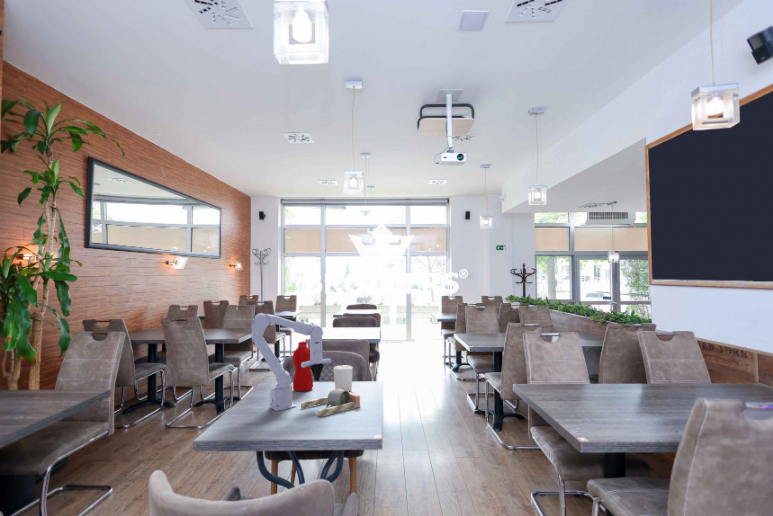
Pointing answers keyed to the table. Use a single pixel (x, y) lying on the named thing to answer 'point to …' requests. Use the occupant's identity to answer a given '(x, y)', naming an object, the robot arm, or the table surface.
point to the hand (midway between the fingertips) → (316, 380)
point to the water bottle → (302, 368)
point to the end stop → (354, 398)
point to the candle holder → (343, 377)
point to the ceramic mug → (338, 398)
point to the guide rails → (327, 410)
